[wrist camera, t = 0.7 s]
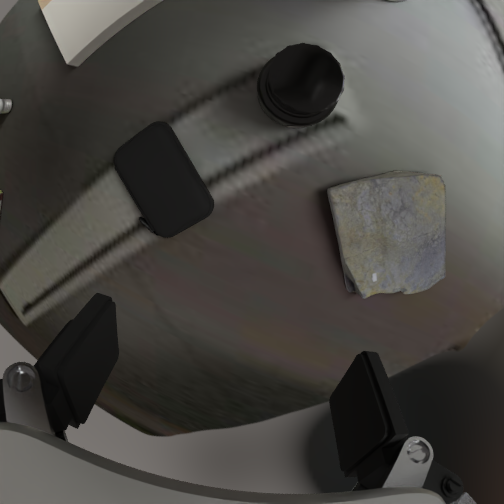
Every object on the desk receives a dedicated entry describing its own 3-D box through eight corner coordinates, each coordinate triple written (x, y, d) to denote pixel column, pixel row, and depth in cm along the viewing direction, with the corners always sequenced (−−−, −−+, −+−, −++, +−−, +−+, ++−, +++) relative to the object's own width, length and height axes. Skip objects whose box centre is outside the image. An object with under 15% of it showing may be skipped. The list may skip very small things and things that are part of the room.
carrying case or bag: (109, 158, 36) (160, 241, 41) (99, 161, 33) (153, 249, 38) (167, 116, 34) (221, 207, 38) (159, 114, 31) (217, 213, 36)
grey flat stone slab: (347, 301, 45) (438, 275, 41) (352, 317, 41) (449, 288, 37) (322, 182, 38) (429, 159, 34) (327, 188, 34) (443, 163, 30)
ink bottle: (300, 143, 34) (318, 147, 23) (242, 106, 33) (233, 92, 22) (341, 87, 31) (374, 69, 20) (284, 49, 29) (294, 14, 18)
